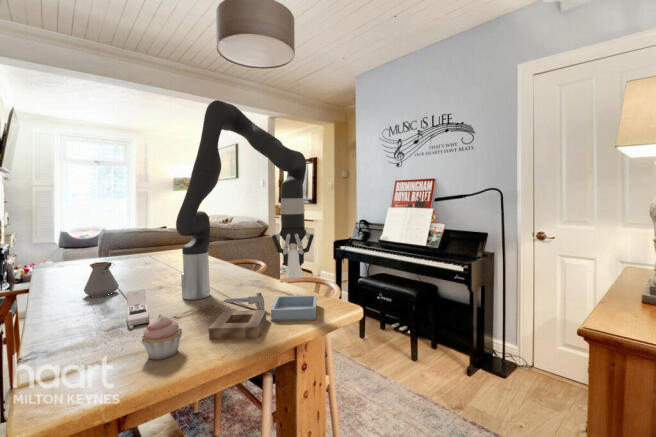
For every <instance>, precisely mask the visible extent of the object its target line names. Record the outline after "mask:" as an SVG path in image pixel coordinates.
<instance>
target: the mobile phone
mask: <svg viewBox="0 0 656 437" xmlns="http://www.w3.org/2000/svg"><path fill="white" fill-rule="evenodd" d="M146 291H147V290H146V289H145V288H143V289H136V290H135V289H134V290H131V291H126V293H125V295H126V296H125V297H126V304H127V310H126V323H127V326H128V327H129V329H130V330H133V329H134V326H137V325H142V324H147V323H149V321H150V314H149V308H148V306H147V299H146Z"/></svg>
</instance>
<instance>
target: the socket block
mask: <svg viewBox="0 0 656 437" xmlns="http://www.w3.org/2000/svg"><path fill="white" fill-rule="evenodd" d="M266 322H267V310H266V309H264V310H257V309H256V310H255V309H254V310H224V311H223V312H222V313H221V314H220V315H219V316H218V317H217V318H216V319H215V321H214V322H213V323H212V324H211V325H210V326H208V339H209V340H226V339H227V340H230V339H231V340H233V339H236V340H237V339H258V338H259V336H260V334H261V332H262V330H263V327H264V325H265V323H266Z"/></svg>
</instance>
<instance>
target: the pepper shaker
mask: <svg viewBox="0 0 656 437" xmlns="http://www.w3.org/2000/svg"><path fill="white" fill-rule="evenodd" d="M287 254H288V265H287V266H286V265H285V266H286V268H285V278H288V279H299V278H302V277H303V272H302V270H303V269H302V266H300V264H299V254H300V252H299V249H298V245H297V244H295V243H291V244H289V248H288V252H287Z"/></svg>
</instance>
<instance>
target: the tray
mask: <svg viewBox="0 0 656 437" xmlns="http://www.w3.org/2000/svg"><path fill="white" fill-rule="evenodd" d="M316 316H317V295H314V294H313V295H277V296H276V299H275V300H274V303H273V304H272V307H271V309H270V321H271V322H280V321H281V322H291V321H293V322H294V321H316Z"/></svg>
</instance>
